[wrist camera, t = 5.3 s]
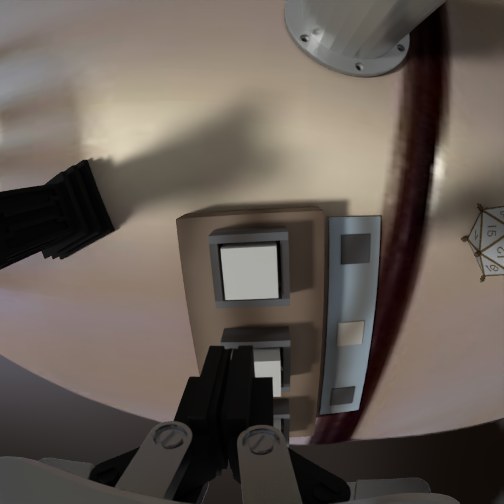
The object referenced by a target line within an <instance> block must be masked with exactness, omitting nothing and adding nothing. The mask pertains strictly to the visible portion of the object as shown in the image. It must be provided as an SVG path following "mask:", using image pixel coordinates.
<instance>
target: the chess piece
mask: <svg viewBox="0 0 504 504" xmlns="http://www.w3.org/2000/svg"><path fill="white" fill-rule="evenodd" d="M113 231H114V228H113V225H112V223H111V221H110V218H109V216H108V213H107V211H106V208H105V206H104V204H103V201H102V199H101V196H100V193H99V191H98V188H97V186H96V183H95V180H94V178H93V175H92V172H91V169H90V167H89V164H88V161H87V160H82V161H81V162H79V163H78V164H77V165H74V166H71V167H70V168H68V169H67V170H66V171H64V172H60V173H59V174H58V175H56V176H55V177H54V178H52V179H51V180H50V181H49V182H47V183H46V184H45V185H42V186H34V187H28V188H21V189H15V190H9V191H3V192H0V270H1V269H3V268H5V267H7V266H9V265H11V264H13V263H16V262H18V261H20V260H22V259H24V258H27V257H29V256H31V255H33V254H36V253H38V252H40V251H42V254H43V256H44V258H45V259H46V258H48V257H50V256H52V258H53V259H55V258H57V257H60V259H61V260H62V259H64V258H65V257H67V256H69V255H71V254H72V253H74V252H76V251H78V250H79V249H81V248H83V247H85V246H87V245H88V244H90V243H92V242H94V241H96V240H98V239H99V238H101V237H103V236H105V235H107V234H109V233H111V232H113Z"/></svg>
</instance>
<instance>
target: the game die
mask: <svg viewBox="0 0 504 504" xmlns="http://www.w3.org/2000/svg"><path fill="white" fill-rule="evenodd" d="M477 205H478V207H477V208H478V209H479V210H480V211H481V212H480V214H479V216H478V218H477V221H476V223H475V225H474V227H473V229H472V231H471V233H470V235H469V237H468V238H467V237H463V238H462V239H461V240H462V241H463V242H464V241H465V242H466V241H468V242H469V244H470V246H471V248H472V251H473V253H474V256H475V257H476V259H477V261H478V264H479V266H480V268H481V270H482V273H483V276H481V278H480V279H481V282H483V281H484V279H485V277H486V276H498V275H504V206H499V207H493V208H487V207H486V209H483V207H482V206H481V204H478V203H477Z"/></svg>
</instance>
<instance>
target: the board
mask: <svg viewBox="0 0 504 504" xmlns="http://www.w3.org/2000/svg"><path fill="white" fill-rule="evenodd" d="M176 225H177V234H178V242H179V251H180V259H181V266H182V274H183V281H184V288H185V294H186V301H187V307H188V314H189V320H190V326H191V331H192V337H193V343H194V348H195V353H196V359H197V364H198V369H199V374H200V375H201V371H202V368H203V365H204V362H205V359H206V356H207V353H208V349H209V347H210V346H224V347H225V349H229V350H230V356H231V354H232V349H233V348H238V346H240V345H253V348H266V347H280V367H281V397H273V413H274V419H281V432H282V433H283V435H284V437H285V440H286V444H287V447H289V437H302V436H313V435H314V430H315V421H316V411H317V401H318V390H319V378H320V364H321V349H322V330H323V306H324V211H323V210H322V209H320V208H319V207H296V208H274V209H255V210H238V211H222V212H208V213H194V214H185V215H183V216H181V217H179V218H177V219H176ZM258 241H276V249H277V273H278V298H268V299H242V300H225V291H224V281H223V270H222V260H221V247H222V246H223V244H224V243H239V242H258ZM379 248H380V216H355V217H329V280H328V311H327V332H326V348H325V362H324V374H323V386H322V396H321V406H320V414H330V413H338V412H346V411H353V410H358V409H359V405H360V400H361V395H362V390H363V385H364V380H365V374H366V369H367V363H368V357H369V350H370V344H371V336H372V329H373V321H374V312H375V303H376V293H377V281H378V266H379Z"/></svg>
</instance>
